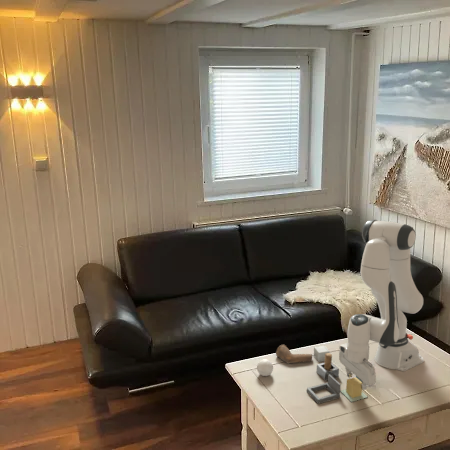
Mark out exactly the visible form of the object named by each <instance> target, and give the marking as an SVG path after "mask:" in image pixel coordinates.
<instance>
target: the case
mask: <svg viewBox="0 0 450 450" xmlns="http://www.w3.org/2000/svg"><path fill="white" fill-rule="evenodd" d="M341 385H342V384H341V383H340V382H339V381H337V379H336V378H333V377H332V376H331V375H330V374H329V375H328V380H327V382H325V383H324V382H323V383H321V384H317V385H313V386H309V387H307V388H306V392H307V393H308V395H311V396H310V397H311V398H312V399H313V400H314V401H315V402H316V403H317V404H322V403H326V402H329V401H333V400H337V399H339V398H341V392H340V391H341ZM324 389H327V391H329V393H331V394H329V395H325V396H321V397H319V396H318V395H317V394H316V393H315V392H316V390H317V391H320V390H324Z"/></svg>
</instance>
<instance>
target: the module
mask: <svg viewBox="0 0 450 450" xmlns="http://www.w3.org/2000/svg"><path fill="white" fill-rule="evenodd" d="M361 384H363V381H362V380H361V379H359V378H358V377H357V376H356V377H350V378H347V379H346V388H345V389H346V392H347V393H348V394H349V395H350V396H351V397H352V398H354V397H358V396H361V395H362V392H363V389H362V388H361Z"/></svg>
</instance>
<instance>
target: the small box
mask: <svg viewBox="0 0 450 450" xmlns="http://www.w3.org/2000/svg"><path fill="white" fill-rule="evenodd" d="M326 353H330V350H329V349H328V348H327V346H326V345H320V346H314V347H313V357H314V358H315V359H316V361H317V362H318V363H319V362H320V363H321V362H325V354H326ZM330 354H331V353H330Z"/></svg>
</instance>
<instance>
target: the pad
mask: <svg viewBox="0 0 450 450" xmlns="http://www.w3.org/2000/svg"><path fill="white" fill-rule="evenodd" d="M340 394H342V395H343V396H344V397H345V396H346V397H347V398H346V397H345V398H346V399H347V400H349V402H350V403H354V402H357V400H358V401H360V399H361V400H364V398H365V399H368V398H367V397H368V396H367V395H366V394H365V393H364V391H362V395H361V396H358V397H354V398H352V397H351V396H350V395H349V394H348V393H347V392H346V388H345V389H340Z"/></svg>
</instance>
